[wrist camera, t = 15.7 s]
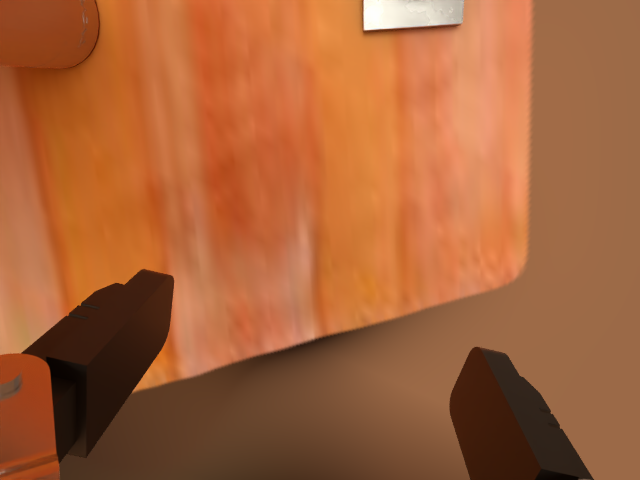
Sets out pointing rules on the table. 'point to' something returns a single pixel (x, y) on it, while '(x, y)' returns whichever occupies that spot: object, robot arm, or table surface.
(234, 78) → the table surface
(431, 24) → the stake stand
